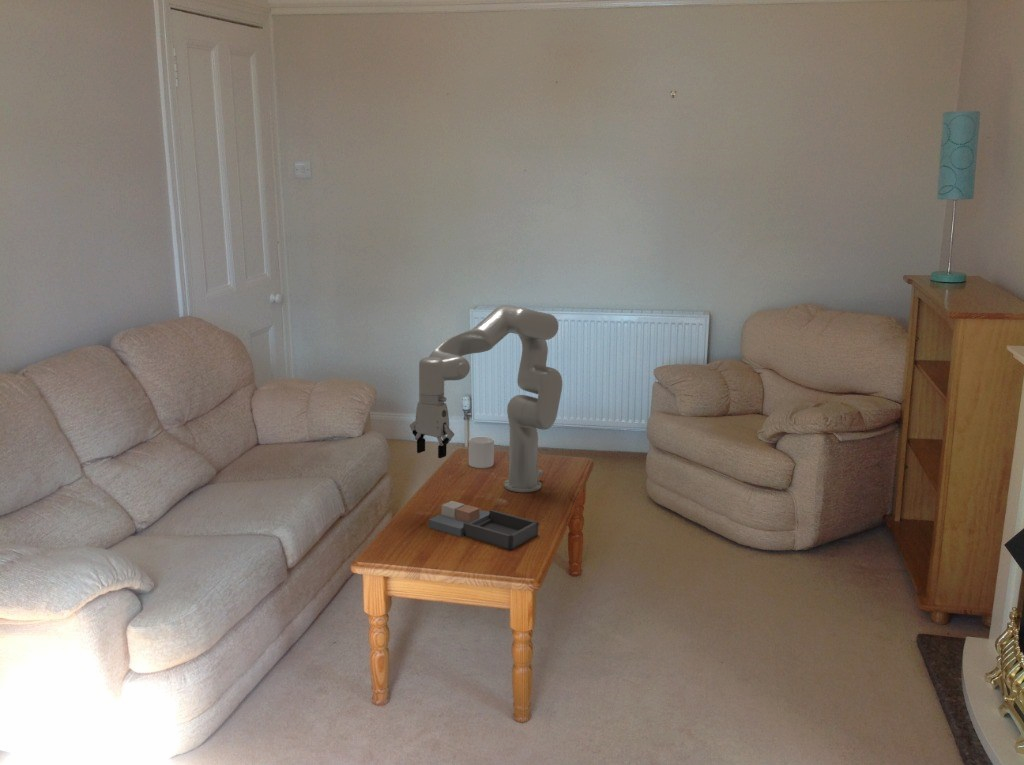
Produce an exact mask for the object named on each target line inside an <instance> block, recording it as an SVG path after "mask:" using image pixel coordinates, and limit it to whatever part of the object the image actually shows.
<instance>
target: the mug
mask: <svg viewBox="0 0 1024 765" xmlns="http://www.w3.org/2000/svg"><path fill="white" fill-rule="evenodd" d="M494 457H495V439H494V438H493V437H491V436H486V435H485V436H484V435H483V436H481V435H480V436H471V437H469V439H468V465H469V466H470V467H471V468H474V469H475V468H476V469H488V468H492V467H493V466H494V464H495V462H494V461H495V460H494V459H495V458H494Z"/></svg>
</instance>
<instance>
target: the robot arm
mask: <svg viewBox="0 0 1024 765" xmlns="http://www.w3.org/2000/svg"><path fill="white" fill-rule="evenodd" d="M558 331H559V321H558V319H557V317H555V315H553V314H551V313H548V312H542V311H538V310H533V309H529V308H525V307H520V306H515V305H511V304H510V305H509V304H503V305H500V306H498V307H496V308H495V309H494V310H492V311H491V312H490V313H489V314H488V315H487V316H486V317H485V318H484V319H482V320H481V321H480V322H479V323H478V324H476V326H474V327H473V328H471V329H468V330H466V331H464V332H463V331H462V333H459V334H457V335H454V336H452V337H450V338H448V339H446V340H444V341H443V342H442V343H441V344H439V345H438V346H437V347H436V348H435V349H434V350H433V351H432V352H431V353H430V354H429V356H427V357H423V358H421V359H420V360H419V362H418V363H419V364H418V382H419V383H418V398H419V399H418V401H417V405H416V411H415V421H413V422H412V423H411V424H409V428H410V431H412V435H413V436H414V439H415V441H416V453H417V454H421V453H423V452H426V438H425V436H429V437H433V438H436V439H437V442H438V443H439V445H438V446H437V457H438V459H442V458H445V457H447V445H448V444H449V443H450V442H451V441H452V438H454V436H455V433H454V432H453V430H452V429H451V428H450V418H449V417H450V416H449V409H448V405H447V403H446V402H447V397H445V382H446V381H461V380H463V379H464V378H466V377H467V376H468V375H469V373H470V372H471V370H470V369H471V366H470V363H469V361H468V359H467V358H465V357H464V356H466V355H472V354H479V353H485V352H489V351H490V350H492V349H493V348H494V347H495V346H496V345H497V344H498V343H500V342H501V341H502V340H503V339H504V338H505V337H506V336H507V335H509V334H515V335H517V336H518V337H519V339H520V341H521V347H522V349H521V351H522V352H521V356H520V362H519V367H518V374H517V381H516V383H517V385H518V387H519V388H520V389H521V390H523V391H525V392H527V393H531V394H536V395H537V397H534V396H531V395H530V396H529V395H526V394H517V395H514V396H513V397H512V398H510V400H509V402H508V403H507V408H506V410H507V412H506V413H507V419H508V425H509V427H508V428H509V448H508V449H509V450H508V451H509V453H508V454H509V455H508V479H506V480H504V483H503V487H504V488H505V490H508V491H510V492H515V493H533V492H536V491H540V490H541V488H542V483H541V481H540V480H538V478H539V477H540V476H543V474H544V471H543V469H538V450H539V449H538V448H539V434H538V430H545V431H546V430H548V429H551V428H552V426H553V425H555V422H556V419H557V416H558V412H559V407H560V402H561V401H560V400H561V395H562V390H563V377H562V375H561V373H560V372H559V370H557V369H556V368H553V367H550V366H547V361H548V353H549V347H548V342H547V341H548V340H551V339H553V338H554V337H555V336H557V334H558Z"/></svg>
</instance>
